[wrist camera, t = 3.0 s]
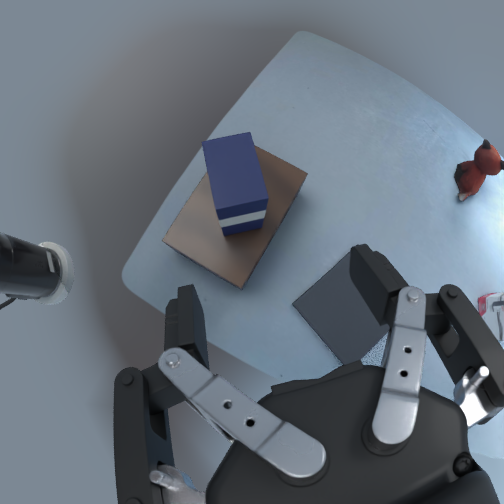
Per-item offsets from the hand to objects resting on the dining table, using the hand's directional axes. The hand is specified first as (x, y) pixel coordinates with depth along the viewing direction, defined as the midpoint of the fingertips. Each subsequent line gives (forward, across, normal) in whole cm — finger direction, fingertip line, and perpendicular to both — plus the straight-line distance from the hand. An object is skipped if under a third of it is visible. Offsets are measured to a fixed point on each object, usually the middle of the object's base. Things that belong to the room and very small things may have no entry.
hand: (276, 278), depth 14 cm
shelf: (+29, 0, +12) cm, 31 cm away
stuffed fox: (+28, -46, +14) cm, 56 cm away
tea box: (+24, 0, +8) cm, 25 cm away
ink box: (+9, -43, +33) cm, 55 cm away
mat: (+17, -14, +25) cm, 33 cm away
